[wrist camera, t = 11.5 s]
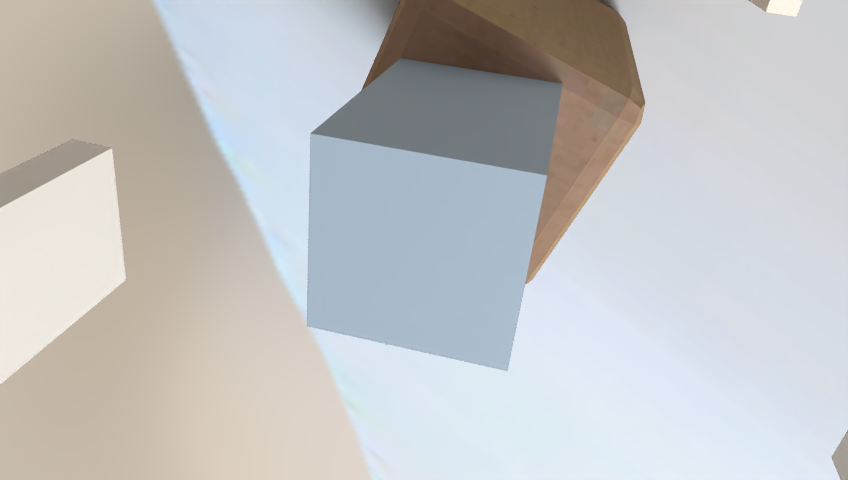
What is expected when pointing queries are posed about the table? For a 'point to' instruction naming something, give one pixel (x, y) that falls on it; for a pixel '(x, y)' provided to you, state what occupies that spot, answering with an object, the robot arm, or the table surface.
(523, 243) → the slate blue block
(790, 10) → the placard
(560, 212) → the wooden block
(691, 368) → the table surface
